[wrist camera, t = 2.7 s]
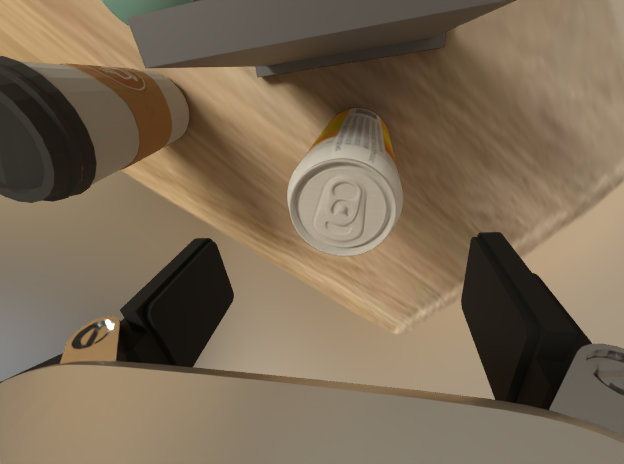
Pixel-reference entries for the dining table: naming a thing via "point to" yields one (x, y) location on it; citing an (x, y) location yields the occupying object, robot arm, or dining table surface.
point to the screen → (296, 31)
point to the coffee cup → (79, 125)
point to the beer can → (347, 186)
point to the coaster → (140, 7)
